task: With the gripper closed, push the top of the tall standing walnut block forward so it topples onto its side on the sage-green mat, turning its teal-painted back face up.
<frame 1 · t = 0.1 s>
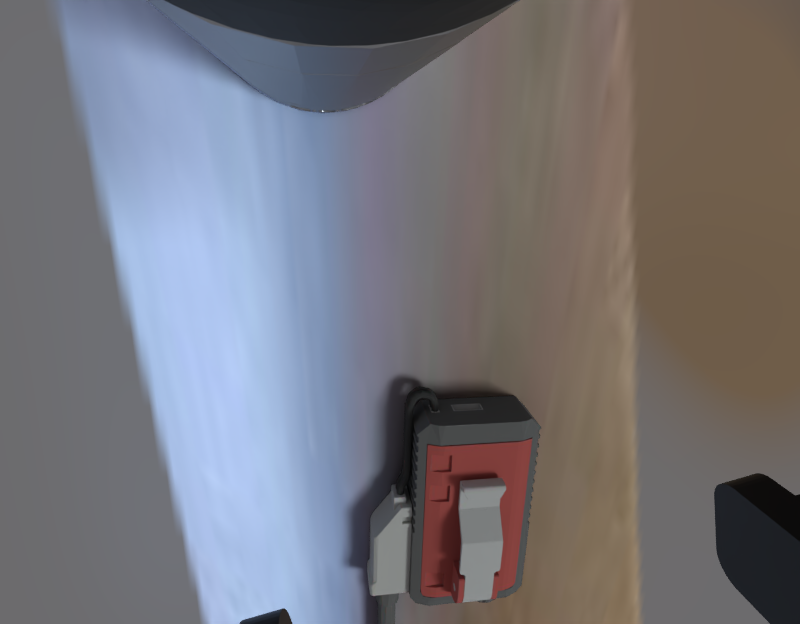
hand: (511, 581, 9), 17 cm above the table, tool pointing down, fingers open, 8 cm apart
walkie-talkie: (439, 527, 31), on the table
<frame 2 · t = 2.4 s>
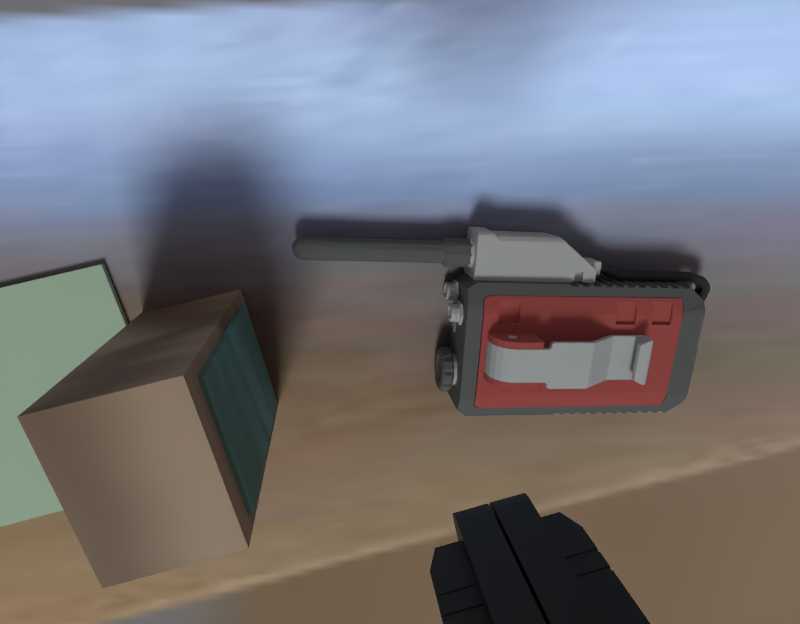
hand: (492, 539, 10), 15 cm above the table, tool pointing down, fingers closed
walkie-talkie: (496, 313, 26), on the table
mat: (18, 408, 24), on the table
walnut block: (213, 359, 25), on the table
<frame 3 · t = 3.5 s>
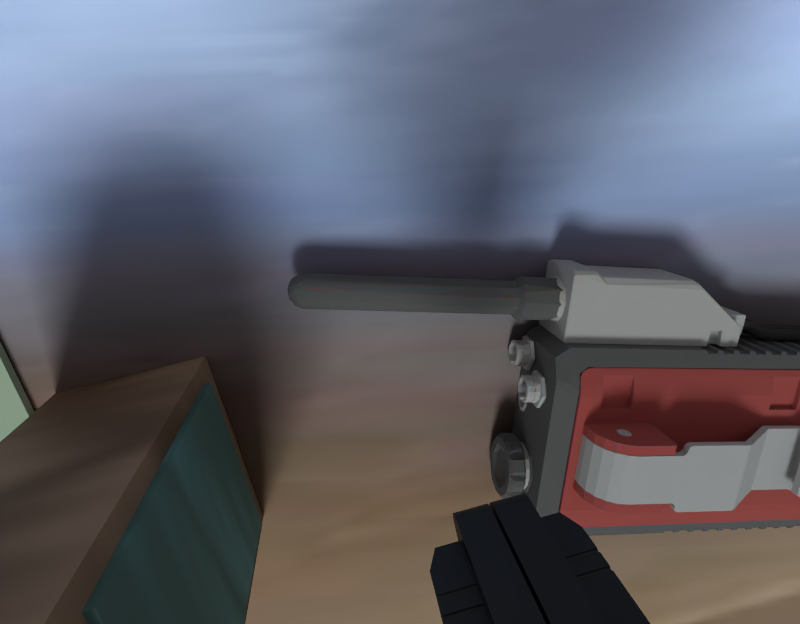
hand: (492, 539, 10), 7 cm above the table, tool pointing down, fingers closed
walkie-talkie: (577, 380, 19), on the table
walnut block: (166, 458, 17), on the table
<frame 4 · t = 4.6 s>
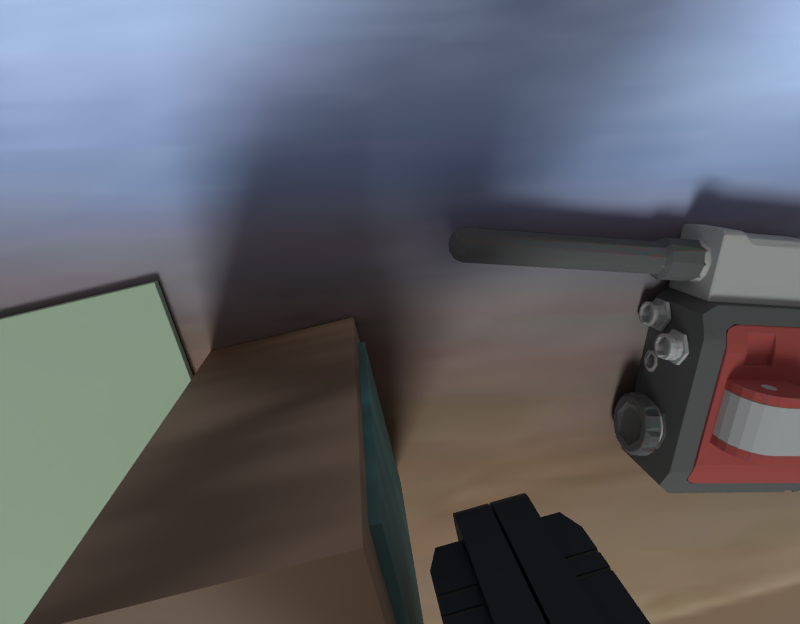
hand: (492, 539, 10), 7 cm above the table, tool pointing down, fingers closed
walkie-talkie: (695, 345, 19), on the table
mat: (28, 491, 17), on the table
walnut block: (308, 418, 17), on the table, touching gripper
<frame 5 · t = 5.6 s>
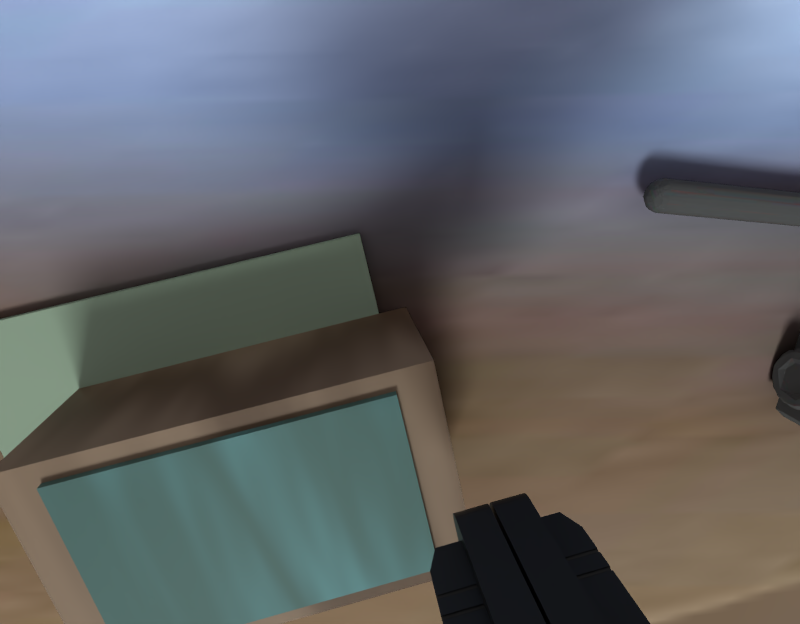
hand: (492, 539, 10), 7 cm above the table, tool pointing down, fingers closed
mat: (218, 442, 17), on the table
walnut block: (438, 426, 15), point 3 cm above the table, tilted 90°, touching mat
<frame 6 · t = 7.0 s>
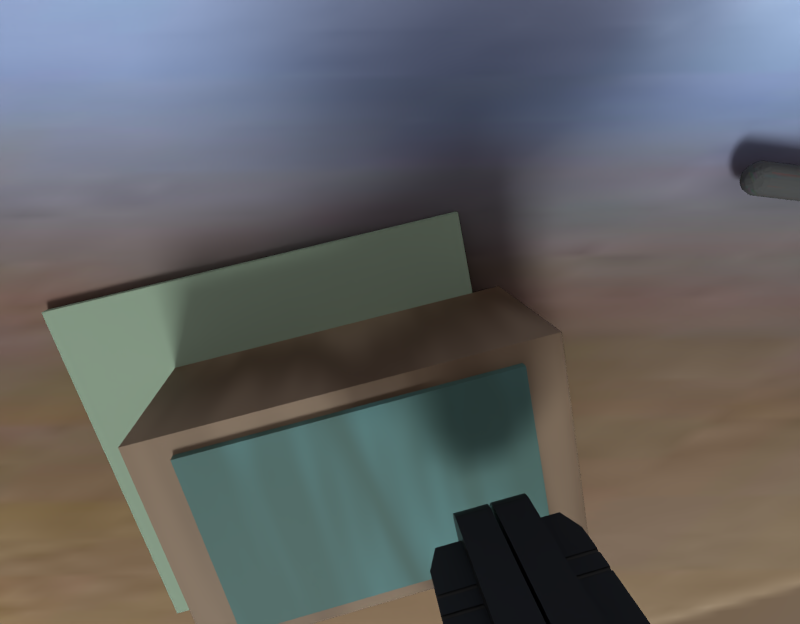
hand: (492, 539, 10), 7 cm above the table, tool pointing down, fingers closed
mat: (307, 423, 17), on the table
walnut block: (540, 403, 15), point 3 cm above the table, tilted 90°, touching mat
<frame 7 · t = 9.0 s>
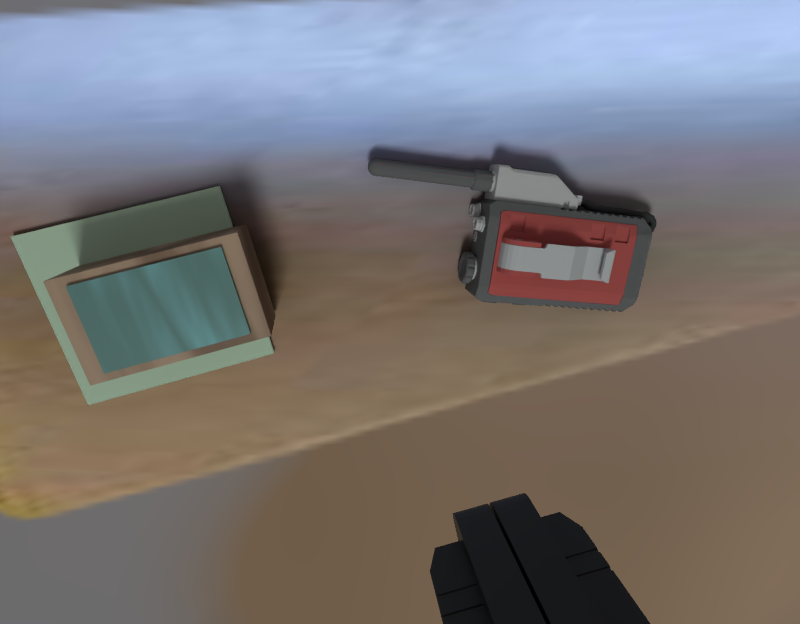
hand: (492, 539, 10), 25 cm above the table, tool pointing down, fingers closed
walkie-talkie: (504, 233, 36), on the table
mat: (152, 297, 32), on the table
walnut block: (258, 277, 31), point 3 cm above the table, tilted 90°, touching mat
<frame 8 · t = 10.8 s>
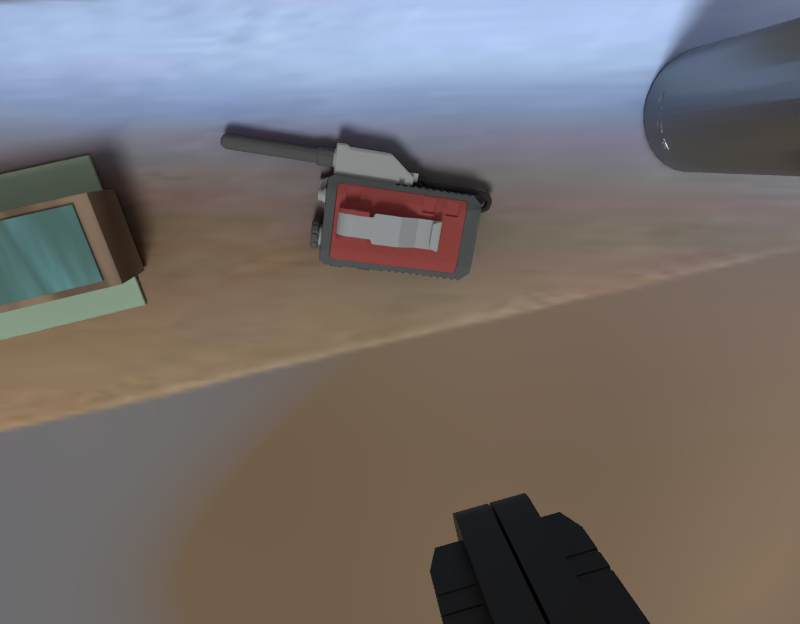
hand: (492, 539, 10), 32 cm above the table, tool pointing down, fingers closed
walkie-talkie: (356, 206, 40), on the table
mat: (35, 252, 37), on the table
walnut block: (117, 234, 36), point 3 cm above the table, tilted 90°, touching mat
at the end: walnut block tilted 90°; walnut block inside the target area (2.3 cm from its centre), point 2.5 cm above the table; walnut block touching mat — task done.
